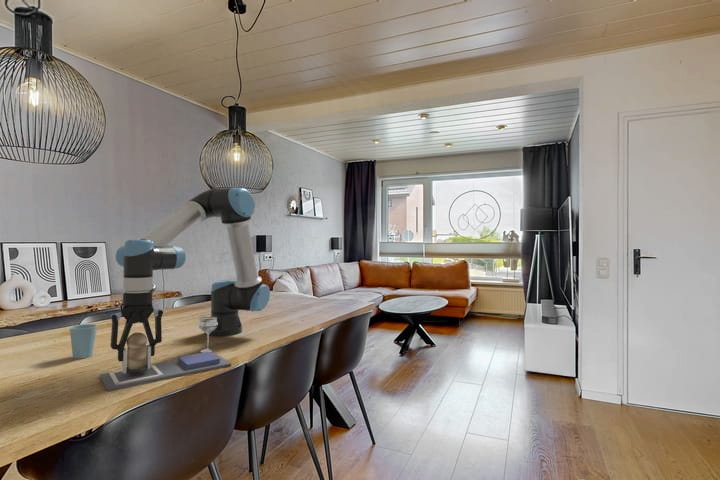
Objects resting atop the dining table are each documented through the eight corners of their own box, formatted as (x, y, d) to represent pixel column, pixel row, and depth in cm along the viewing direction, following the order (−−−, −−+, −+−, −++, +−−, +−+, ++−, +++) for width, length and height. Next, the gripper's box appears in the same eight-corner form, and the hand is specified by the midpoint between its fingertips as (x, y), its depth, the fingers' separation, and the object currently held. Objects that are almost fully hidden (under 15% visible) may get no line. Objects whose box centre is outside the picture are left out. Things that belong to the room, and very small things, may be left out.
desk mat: (215, 355, 134) (215, 348, 134) (231, 365, 124) (231, 358, 124) (100, 376, 112) (100, 368, 112) (107, 390, 101) (107, 381, 101)
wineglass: (194, 350, 140) (195, 318, 140) (212, 347, 145) (212, 315, 145) (202, 354, 135) (203, 321, 135) (220, 350, 140) (221, 318, 140)
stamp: (144, 366, 116) (145, 329, 116) (149, 371, 112) (149, 333, 112) (123, 369, 112) (124, 332, 112) (127, 375, 108) (127, 335, 108)
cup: (83, 352, 135) (84, 323, 135) (101, 354, 134) (102, 324, 134) (63, 358, 128) (64, 328, 128) (82, 360, 127) (83, 329, 127)
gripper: (168, 288, 121) (167, 360, 121) (98, 292, 109) (96, 372, 109) (175, 290, 115) (173, 366, 115) (102, 295, 103) (100, 380, 103)
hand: (136, 369), depth 112 cm, fingers closed on stamp, 5 cm apart
